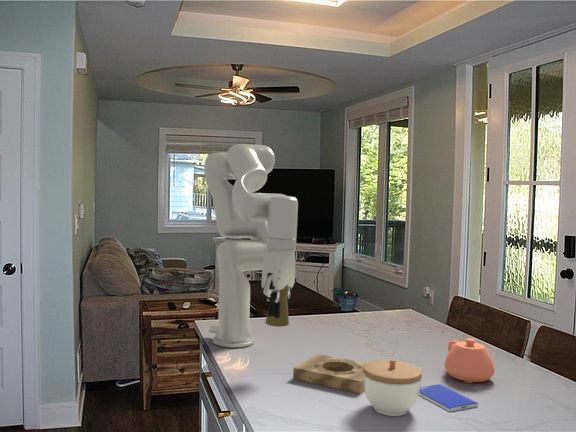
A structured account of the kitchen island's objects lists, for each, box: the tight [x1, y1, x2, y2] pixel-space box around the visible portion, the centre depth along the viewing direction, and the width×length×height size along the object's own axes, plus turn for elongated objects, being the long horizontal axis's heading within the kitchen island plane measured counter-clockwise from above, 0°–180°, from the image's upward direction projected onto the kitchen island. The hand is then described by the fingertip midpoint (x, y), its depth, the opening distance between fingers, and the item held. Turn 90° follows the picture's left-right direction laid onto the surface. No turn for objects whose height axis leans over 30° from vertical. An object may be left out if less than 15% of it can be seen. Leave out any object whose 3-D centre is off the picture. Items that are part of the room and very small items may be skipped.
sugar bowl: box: [444, 338, 495, 384], centre depth 144 cm, size 12×14×10 cm
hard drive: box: [419, 383, 479, 412], centre depth 128 cm, size 2×8×12 cm
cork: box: [265, 285, 290, 328], centre depth 141 cm, size 6×6×11 cm
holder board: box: [292, 353, 367, 395], centre depth 140 cm, size 18×14×3 cm
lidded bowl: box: [363, 358, 423, 417], centre depth 121 cm, size 13×13×11 cm
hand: (278, 314), depth 141 cm, fingers closed on cork, 3 cm apart
